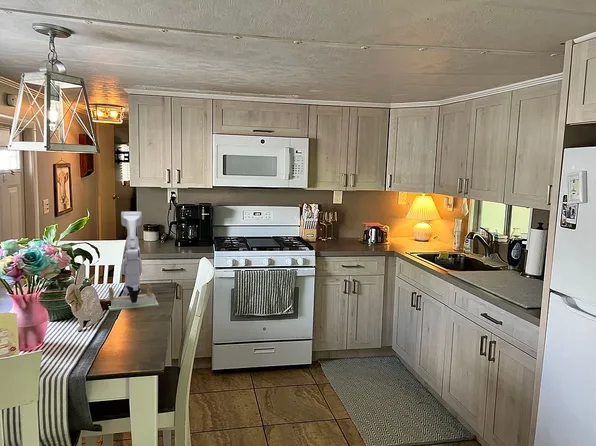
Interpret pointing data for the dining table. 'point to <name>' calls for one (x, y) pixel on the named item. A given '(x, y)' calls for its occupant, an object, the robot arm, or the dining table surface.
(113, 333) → the dining table surface
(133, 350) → the dining table surface
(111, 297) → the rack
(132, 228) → the robot arm
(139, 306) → the mat
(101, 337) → the dining table surface
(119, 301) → the rail
